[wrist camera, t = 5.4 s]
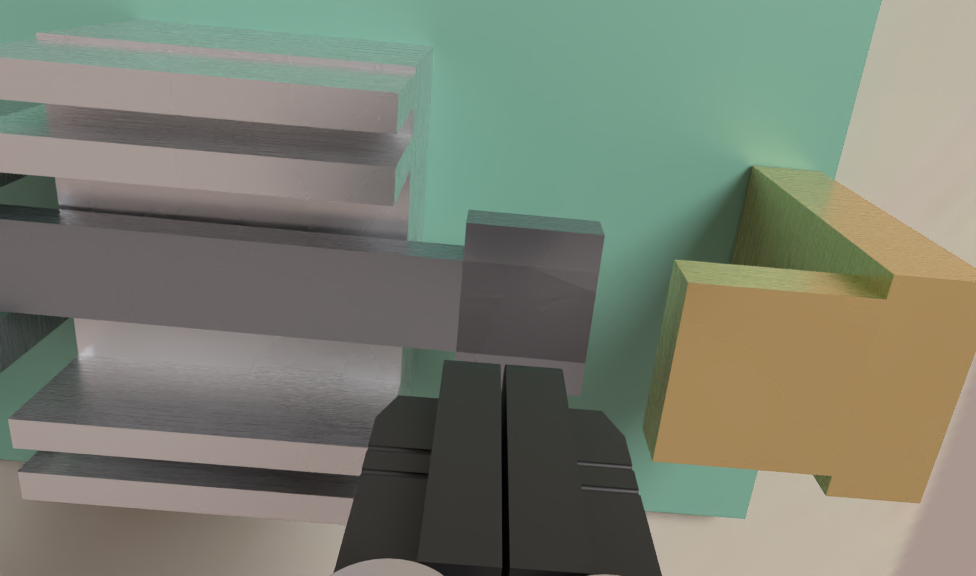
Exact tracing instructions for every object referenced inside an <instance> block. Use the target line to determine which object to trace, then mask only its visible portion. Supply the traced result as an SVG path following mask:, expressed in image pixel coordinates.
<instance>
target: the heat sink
mask: <svg viewBox="0 0 976 576" xmlns="http://www.w3.org/2000/svg"><path fill="white" fill-rule="evenodd" d="M36 38H37V39H30V40H23V41H16V42H10V43H3V44H0V187H2V186H5V185H7V184H9V183H12V182H14V181H16V180H19V179H21V178H23V177H26V176H28V175H36V176H48V177H55V182H56V189H57V197H58V204H59V209H62V210H73V211H85V212H96V213H107V214H118V215H129V216H140V217H151V218H162V219H174V220H185V221H196V222H207V223H218V224H229V225H240V226H251V227H263V228H274V229H285V230H296V231H307V232H318V233H329V234H340V235H352V236H363V237H374V238H385V239H396V240H407V241H418V242H423V235H424V217H425V200H426V182H427V164H428V146H429V129H430V111H431V93H432V75H433V58H434V46H429V45H418V44H407V43H396V42H385V41H374V40H363V39H352V38H341V37H330V36H319V35H308V34H297V33H286V32H275V31H264V30H253V29H242V28H231V27H220V26H209V25H198V24H187V23H176V22H165V21H154V20H142V19H135V20H127V21H119V22H112V23H104V24H97V25H89V26H81V27H74V28H66V29H58V30H51V31H43V32H36ZM69 318H70V317H59V316H47V315H36V314H25V313H13V312H2V311H0V373H1V372H3V371H4V370H5V369H6V368H8V367H9V366H10V365H11V364H13V363H14V362H15V361H16V360H17V359H19V358H20V357H21V356H22V355H24V354H25V353H26V352H27V351H29V350H30V349H31V348H32V347H34V346H35V345H36V344H37V343H39V342H40V341H41V340H42V339H44V338H45V337H46V336H47V335H49V334H50V333H51V332H52V331H54V330H55V329H56V328H57V327H59V326H60V325H61V324H62V323H64V322H65V321H66V320H67V319H69ZM74 325H75V333H76V340H77V348H78V356H77V357H76V358H74V359H73V360H72V361H71V362H70V363H69V364H68V365H67V366H66V367H65V368H63V369H62V370H61V371H60V372H59V373H58V374H57V375H56V376H55V377H54V378H52V379H51V380H50V381H49V382H48V383H47V384H46V385H45V386H44V387H43V388H41V389H40V390H39V391H38V392H37V393H36V394H35V395H34V396H33V397H31V398H30V399H29V400H28V401H27V402H26V403H25V404H24V405H23V406H22V407H20V408H19V409H18V410H17V411H16V412H15V413H14V414H13V415H12V416H11V417H9V418H8V423H9V428H10V434H11V439H12V445H13V448H16V449H29V450H38V451H37V452H36V453H35V454H34V455H33V456H32V457H31V458H30V459H29V460H28V461H27V462H26V463H25V464H24V465H23V466H22V468H21V469H20V470H19V471H18V472H17V473H18V479H19V484H20V490H21V496H22V499H24V500H36V501H49V502H62V503H75V504H87V505H100V506H113V507H125V508H138V509H151V510H164V511H176V512H189V513H202V514H215V515H227V516H240V517H253V518H265V519H278V520H291V521H304V522H316V523H329V524H342V525H347V522H348V518H349V514H350V511H351V507H352V503H353V499H354V495H355V492H356V488H357V484H358V480H359V477H360V474H361V472H362V465H363V462H364V458H365V454H366V450H368V443H369V439H370V435H371V432H372V428H373V424H374V420H375V417H376V416H377V415H378V414H379V413H380V412H381V411H382V410H383V409H384V408H386V407H387V406H388V405H389V404H390V403H391V402H392V401H393V400H394V399H395V398H396V397H397V396H398V395H402V396H410V392H411V388H412V383H413V378H414V374H415V369H416V359H417V348H408V347H396V346H385V345H374V344H362V343H351V342H340V341H329V340H317V339H306V338H295V337H284V336H272V335H261V334H250V333H239V332H227V331H216V330H205V329H194V328H182V327H171V326H160V325H149V324H137V323H126V322H115V321H104V320H92V319H81V318H74Z"/></svg>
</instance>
